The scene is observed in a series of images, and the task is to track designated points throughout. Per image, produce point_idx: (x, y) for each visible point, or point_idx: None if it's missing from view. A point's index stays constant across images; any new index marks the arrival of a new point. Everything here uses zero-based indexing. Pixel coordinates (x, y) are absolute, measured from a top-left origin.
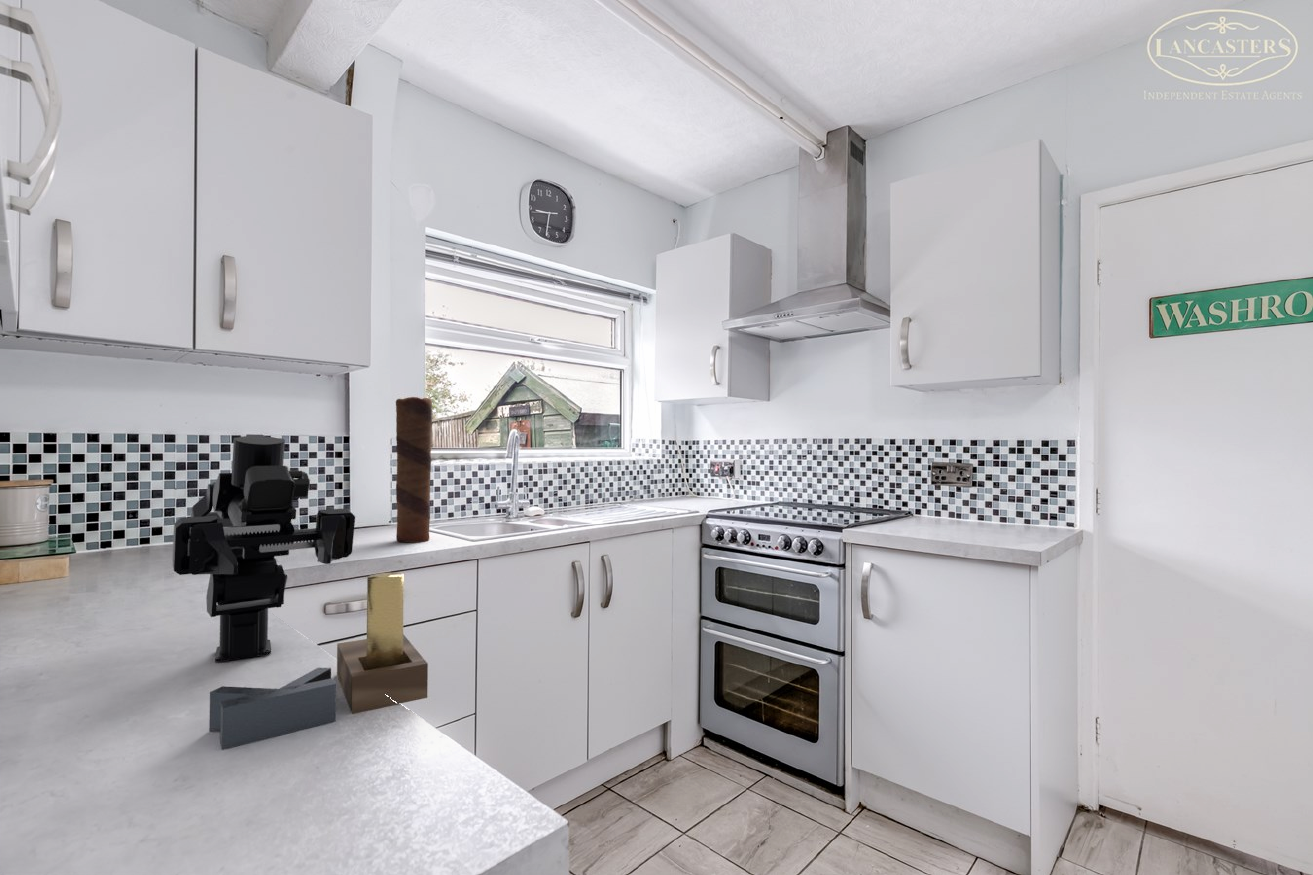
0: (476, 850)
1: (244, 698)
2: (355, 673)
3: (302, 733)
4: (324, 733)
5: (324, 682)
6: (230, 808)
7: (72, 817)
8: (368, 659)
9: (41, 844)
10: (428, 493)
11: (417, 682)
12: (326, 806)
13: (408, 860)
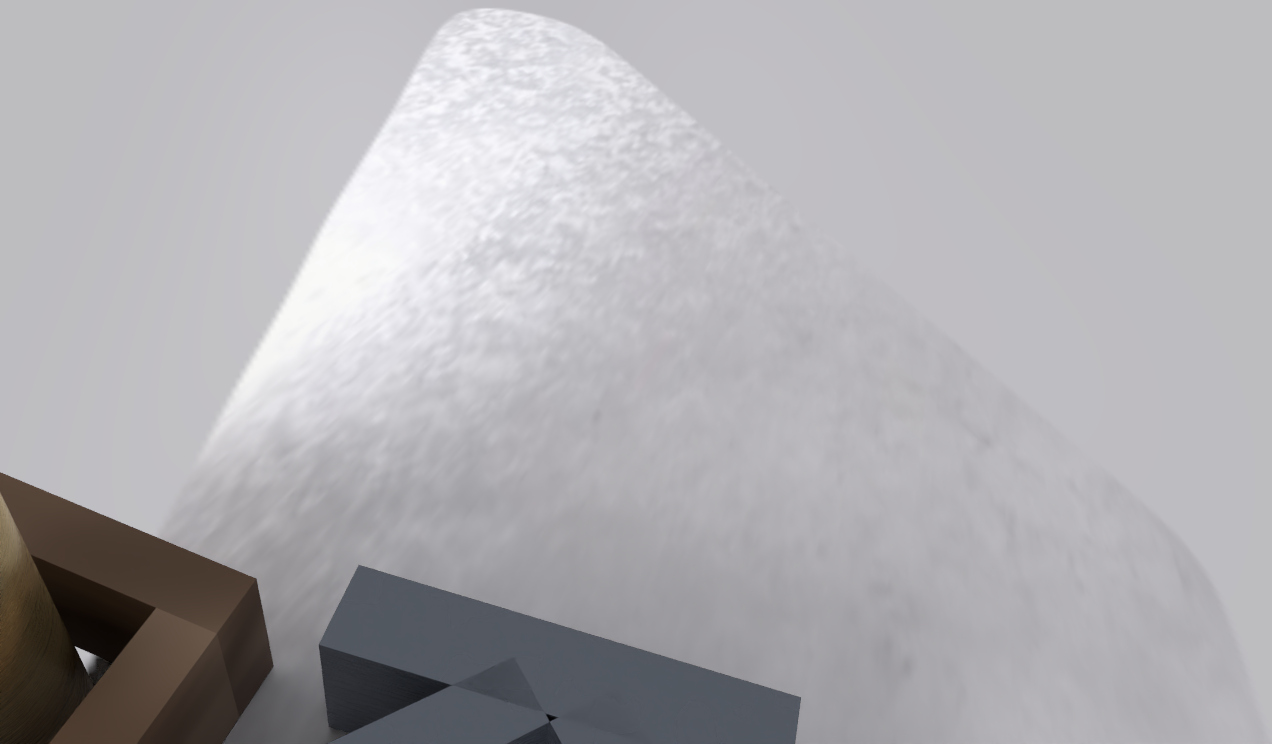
0: (573, 46)
1: (703, 731)
2: (209, 610)
3: None
4: (455, 591)
5: (376, 622)
6: (822, 413)
7: (1139, 674)
8: (51, 663)
9: (1176, 595)
10: None
11: None
12: (669, 273)
13: (654, 94)
